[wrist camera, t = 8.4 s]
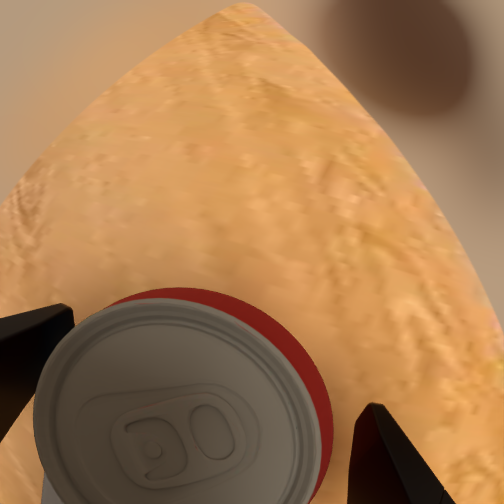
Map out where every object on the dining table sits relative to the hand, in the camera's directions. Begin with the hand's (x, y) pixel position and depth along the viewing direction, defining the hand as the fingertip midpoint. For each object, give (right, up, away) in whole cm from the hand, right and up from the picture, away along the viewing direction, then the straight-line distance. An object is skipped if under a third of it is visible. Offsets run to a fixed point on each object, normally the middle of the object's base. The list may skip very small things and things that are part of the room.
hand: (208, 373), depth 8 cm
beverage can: (-1, -5, +7) cm, 9 cm away
